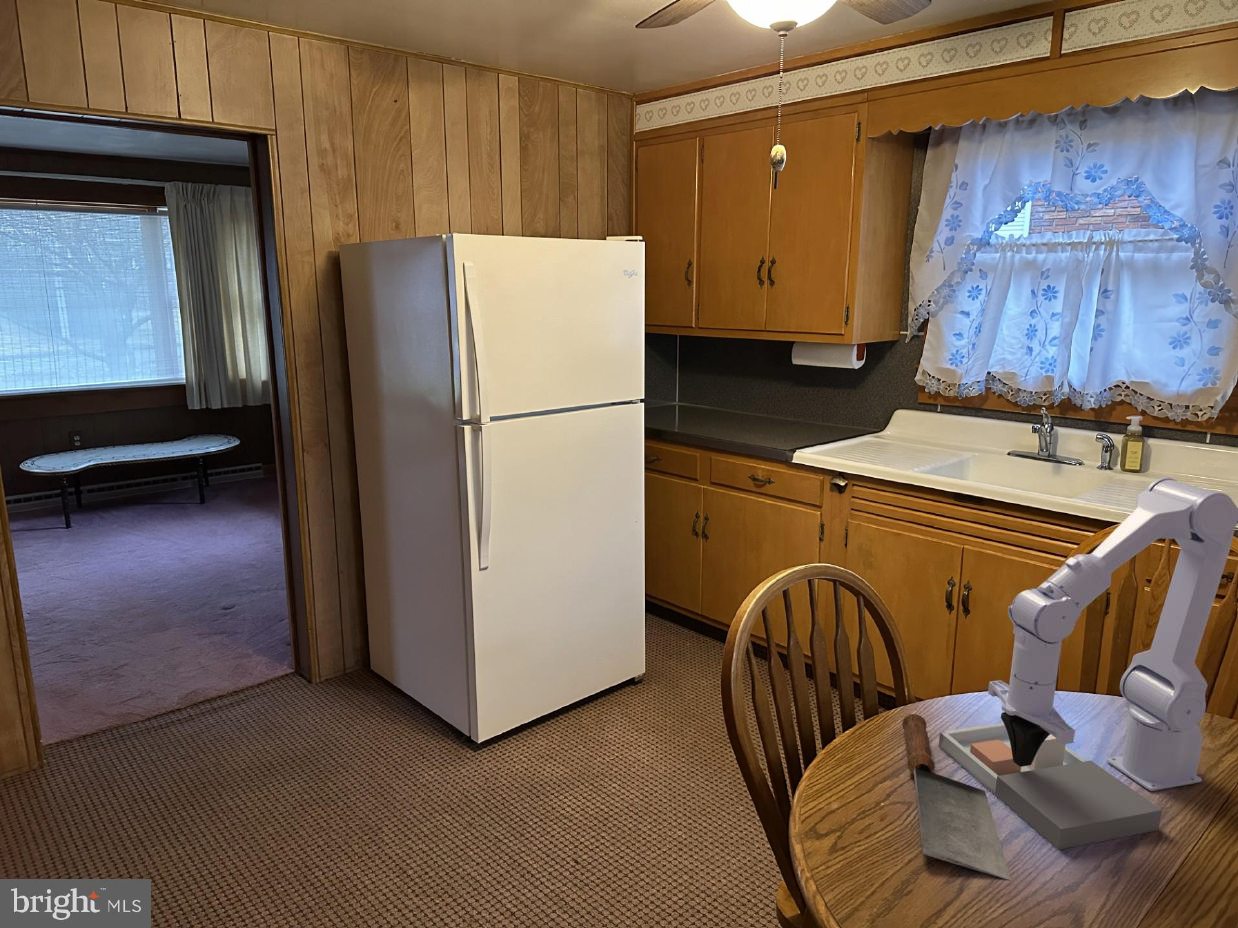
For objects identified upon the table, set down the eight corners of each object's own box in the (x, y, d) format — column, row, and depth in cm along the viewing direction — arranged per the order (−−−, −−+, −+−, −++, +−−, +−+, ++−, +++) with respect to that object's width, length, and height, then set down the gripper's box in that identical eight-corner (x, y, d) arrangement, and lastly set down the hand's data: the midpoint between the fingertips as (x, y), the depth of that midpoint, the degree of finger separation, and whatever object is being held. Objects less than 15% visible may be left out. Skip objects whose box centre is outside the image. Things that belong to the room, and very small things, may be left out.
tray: (1024, 732, 135) (1026, 718, 135) (1088, 778, 123) (1090, 763, 123) (938, 746, 131) (939, 731, 131) (994, 794, 119) (996, 779, 119)
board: (1088, 778, 123) (1090, 760, 122) (1158, 829, 112) (1162, 809, 111) (994, 794, 119) (997, 775, 118) (1058, 849, 108) (1061, 828, 107)
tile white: (1062, 767, 125) (1050, 758, 127) (1066, 736, 124) (1054, 728, 126) (1034, 771, 124) (1022, 762, 126) (1038, 741, 123) (1025, 732, 125)
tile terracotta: (1022, 757, 123) (1020, 772, 124) (999, 739, 128) (997, 754, 128) (993, 761, 122) (991, 777, 122) (970, 743, 127) (969, 758, 127)
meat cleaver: (1017, 882, 102) (1021, 853, 101) (919, 866, 105) (922, 837, 104) (973, 740, 134) (976, 717, 133) (899, 731, 137) (901, 708, 136)
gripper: (974, 656, 123) (965, 740, 126) (1047, 704, 109) (1035, 797, 112) (1015, 651, 124) (1005, 734, 127) (1092, 697, 111) (1079, 789, 114)
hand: (1022, 763), depth 120 cm, fingers closed
